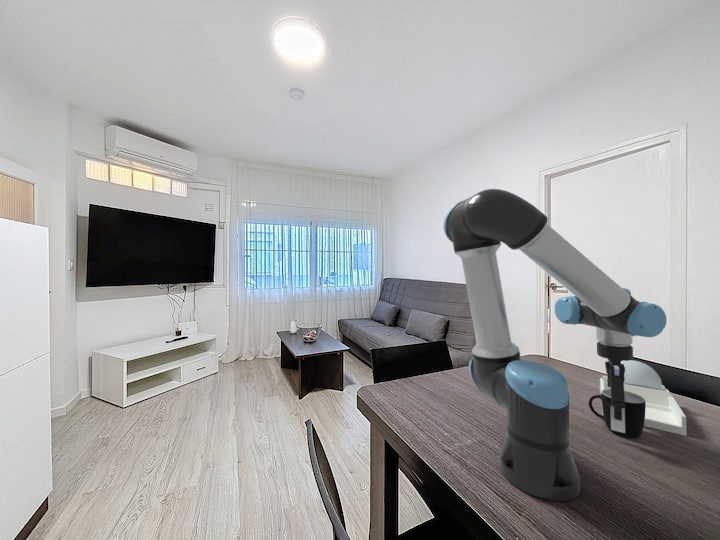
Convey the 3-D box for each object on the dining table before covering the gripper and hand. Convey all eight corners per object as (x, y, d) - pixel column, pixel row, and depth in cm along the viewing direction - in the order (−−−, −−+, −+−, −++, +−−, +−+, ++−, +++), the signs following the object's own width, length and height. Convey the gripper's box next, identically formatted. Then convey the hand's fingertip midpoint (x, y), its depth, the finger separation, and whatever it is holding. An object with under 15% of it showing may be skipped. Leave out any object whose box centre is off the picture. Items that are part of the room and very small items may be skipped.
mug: (649, 433, 78) (648, 396, 78) (642, 446, 73) (641, 406, 73) (593, 416, 88) (593, 382, 88) (584, 426, 82) (583, 390, 82)
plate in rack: (662, 406, 91) (661, 364, 91) (608, 395, 99) (607, 357, 99) (661, 404, 92) (660, 363, 92) (608, 394, 100) (607, 356, 100)
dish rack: (686, 435, 77) (686, 413, 77) (603, 416, 87) (602, 396, 87) (667, 404, 94) (667, 386, 94) (600, 391, 104) (599, 375, 104)
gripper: (639, 356, 68) (641, 447, 68) (627, 336, 87) (629, 406, 87) (598, 351, 73) (600, 436, 73) (595, 333, 92) (597, 400, 92)
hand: (615, 420), depth 80 cm, fingers open, 12 cm apart
